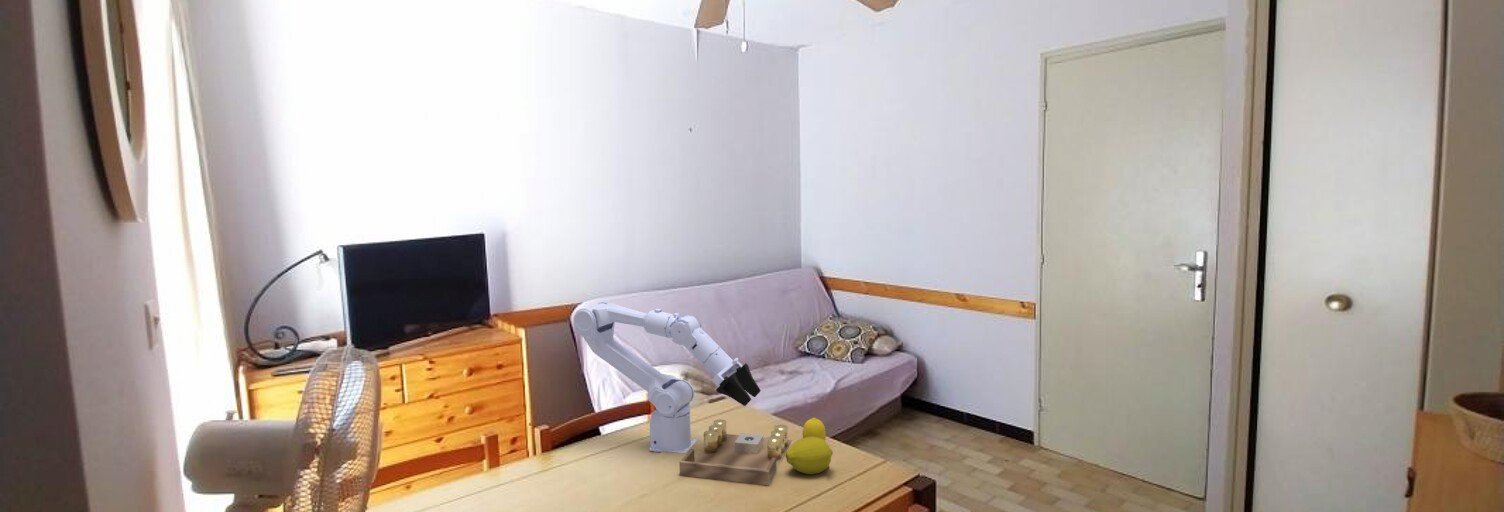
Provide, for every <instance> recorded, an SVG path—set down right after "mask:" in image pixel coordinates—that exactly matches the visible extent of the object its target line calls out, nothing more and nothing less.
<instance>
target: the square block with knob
mask: <svg viewBox="0 0 1504 512" xmlns="http://www.w3.org/2000/svg"><path fill="white" fill-rule="evenodd" d="M739 435H740V436H739V437H738V438H737V440H736V441H735V452H739V453H749V454H758V453H759V451H760V450H761V448H762V447H763V445H764V438H765V437H764V435H763V434H755V433H745V432H744V433H743V432H741V433H740V434H739Z"/></svg>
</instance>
